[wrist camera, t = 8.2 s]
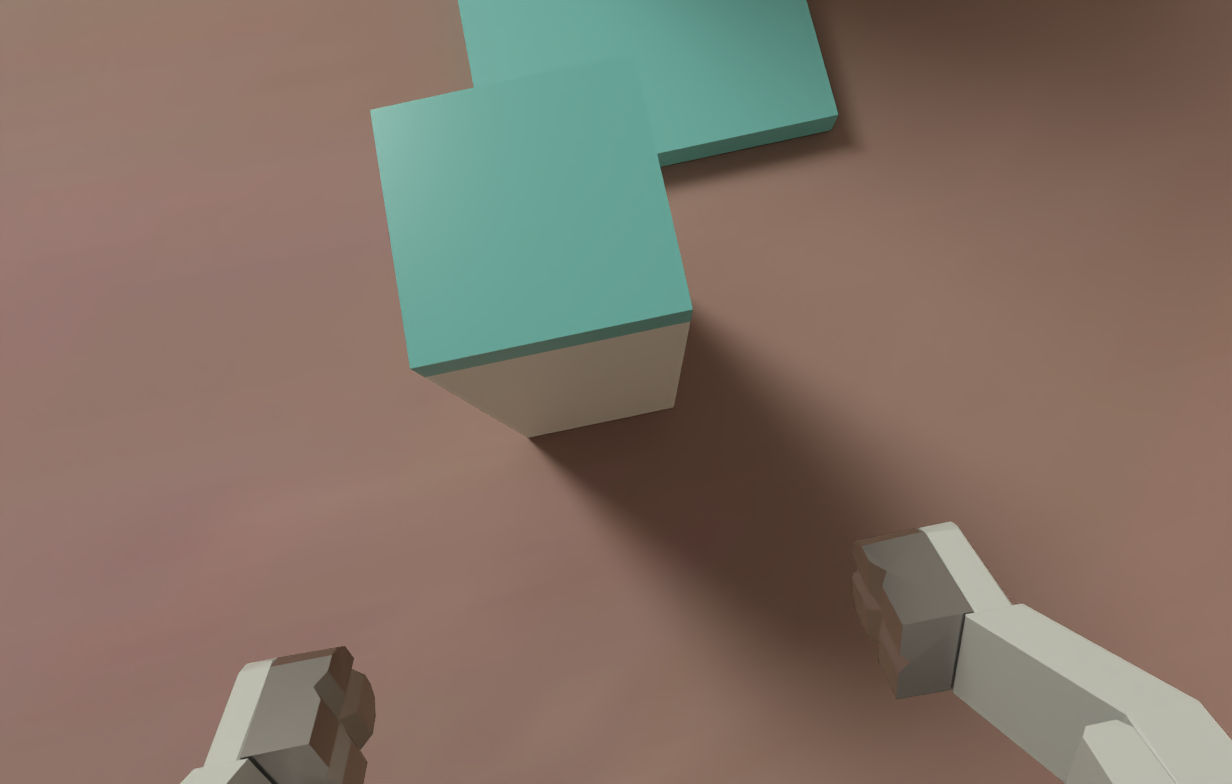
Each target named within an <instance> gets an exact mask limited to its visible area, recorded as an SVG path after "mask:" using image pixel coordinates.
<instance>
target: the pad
mask: <svg viewBox="0 0 1232 784" xmlns="http://www.w3.org/2000/svg"><path fill="white" fill-rule="evenodd" d="M458 4H459V9H460V15H461V20H462V25H463V31H464V36H465V42H466V47H467V53H468V58H469V63H470V69H471V74H472V80H473V85H474V87H479V86H484V85H488V84H493V83H497V82H502V81H507V80H511V79H516V78H520V77H525V76H530V75H534V74H539V73H544V72H548V71H553V70H557V69H562V68H567V67H571V66H576V65H580V64H585V63H590V62H594V61H599V60H604V59H608V58H613V57H617V56H622V55H627V54H631V53H634V55H635V59H636V63H637V68H638V72H639V77H640V81H641V85H642V90H643V94H644V98H645V103H646V107H647V111H648V116H649V120H650V125H651V129H652V133H653V138H654V142H655V146H656V151H657V155H658V160H659V164H660V167H662V166H667V165H671V164H676V163H681V162H685V161H690V160H695V159H699V158H704V157H709V156H713V155H718V154H723V153H727V152H732V151H737V150H741V149H746V148H751V147H755V146H760V145H765V144H769V143H774V142H778V141H783V140H788V139H792V138H797V137H802V136H806V135H811V134H816V133H820V132H825V131H830V130H832V127H833V125H834V123H835V121H836V119H837V117H838V111H837V108H836V104H835V101H834V97H833V94H832V90H831V86H830V83H829V79H828V76H827V72H826V69H825V65H824V61H823V58H822V54H821V51H820V47H819V44H818V40H817V36H816V33H815V29H814V26H813V22H812V19H811V15H810V11H809V8H808V4H807V1H806V0H458Z"/></svg>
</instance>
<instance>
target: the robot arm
mask: <svg viewBox="0 0 1232 784" xmlns="http://www.w3.org/2000/svg"><path fill="white" fill-rule="evenodd" d="M852 558H853V560H854V562H855V565H856V567H857V569H858V570H857V571H856V572H855V573H854V574H853V576H852V593H853V598H854V602H855V607H856V610H857V613H858V616H859V619H860V622H861V624H862V626H863V628H864V631H865V633H866V635H867V636H869V637H870V638H872V639H873V640H875V641H876V642H878V643H879V651H878V661H879V663H880V665H881V668H882V670H883V672H884V674H885V676H886V678H887V680H888V682H889V685H890V687H891V689H892V691H893V693H894V695H895V697H896V699H900V698H906V697H912V696H918V695H924V694H930V693H936V692H942V691H948V690H953V693H954V694H955V695H956V696H958V697H959V698H960V699H961V700H962V701H964V702H965V703H966V704H967V705H969V706H970V707H971V708H972V709H974V710H975V711H976V712H977V713H979V714H980V715H981V716H982V717H984V718H985V719H986V720H987V721H989V722H990V723H991V724H992V725H994V726H995V727H996V728H997V729H998V730H1000V731H1001V732H1002V733H1003V734H1005V735H1006V736H1007V737H1008V738H1010V739H1011V740H1012V741H1013V742H1015V743H1016V744H1017V745H1018V746H1020V747H1021V748H1022V749H1023V750H1025V751H1026V752H1027V753H1028V754H1030V755H1031V756H1032V757H1033V758H1034V759H1036V760H1037V761H1038V762H1039V763H1041V764H1042V765H1043V766H1044V767H1046V768H1047V769H1048V770H1049V771H1051V772H1052V773H1053V774H1054V775H1056V776H1057V777H1058V778H1059V779H1061V780H1062V781H1063V782H1064V784H1232V740H1231V739H1230V738H1229V737H1228V736H1227V734H1226V733H1225V732H1224V731H1223V730H1222V728H1221V727H1220V726H1219V725H1218V724H1217V722H1216V721H1215V720H1214V719H1213V718H1212V716H1211V715H1210V714H1209V713H1208V712H1207V710H1206V709H1205V708H1204V707H1203V706H1202V704H1201V703H1200V702H1199V701H1197V700H1196V699H1194V698H1192V697H1190V696H1188V695H1187V694H1185V693H1183V692H1181V691H1179V690H1178V689H1176V688H1174V687H1172V686H1170V685H1169V684H1167V683H1165V682H1163V681H1161V680H1160V679H1158V678H1156V677H1154V676H1152V675H1151V674H1149V673H1147V672H1145V671H1143V670H1142V669H1140V668H1138V667H1136V666H1134V665H1133V664H1131V663H1129V662H1127V661H1125V660H1124V659H1122V658H1120V657H1118V656H1116V655H1115V654H1113V653H1111V652H1109V651H1107V650H1106V649H1104V648H1102V647H1100V646H1098V645H1097V644H1095V643H1093V642H1091V641H1089V640H1088V639H1086V638H1084V637H1082V636H1080V635H1079V634H1077V633H1075V632H1073V631H1071V630H1070V629H1068V628H1066V627H1064V626H1062V625H1061V624H1059V623H1057V622H1055V621H1053V620H1052V619H1050V618H1048V617H1046V616H1044V615H1043V614H1041V613H1039V612H1037V611H1035V610H1034V609H1032V608H1030V607H1028V606H1026V605H1025V604H1023V603H1022V604H1016V605H1012V603H1011V602H1010V601H1009V599H1008V598H1007V596H1006V595H1005V593H1004V592H1003V590H1002V589H1001V588H1000V586H999V585H998V583H997V582H996V580H995V579H994V578H993V576H992V575H991V573H990V572H989V570H988V569H987V567H986V566H985V565H984V563H983V562H982V560H981V559H980V557H979V556H978V555H977V553H976V552H975V550H974V549H973V547H972V546H971V544H970V543H969V542H968V540H967V539H966V537H965V536H964V534H963V533H962V532H961V530H960V529H959V527H958V526H957V525H956V524H954V523H953V522H946V523H941V524H936V525H931V526H926V527H921V528H918V529H916V528H913V529H908V530H904V531H899V532H894V533H890V534H885V535H881V536H876V537H871V538H867V539H862V540H858V541H855V542H854V544H853V546H852ZM353 660H354V657H353V656H352V655H351V653H350V652H349V651H348V649H347V648H346V647H345V646H342V647H335V648H330V649H324V650H318V651H313V652H307V653H301V654H295V655H290V656H284V657H278V658H273V659H268V660H263V661H258V662H253V663H247V664H246V665H245V666H244V668H243V669H242V670H241V671H240V672H239V674H238V676H237V679H236V681H235V684H234V687H233V689H232V692H231V694H230V697H229V700H228V702H227V705H226V708H225V710H224V713H223V716H222V718H221V721H220V724H219V726H218V729H217V732H216V734H215V737H214V740H213V742H212V745H211V748H210V750H209V753H208V756H207V758H206V761H205V764H204V766H203V767H200V768H196V769H193V770H192V772H191V773H190V774H189V775H188V776H187V777H186V778H185V779H184V780H183V781H182V782H181V783H180V784H363V783H364V778H365V773H366V767H367V760H366V759H365V757H364V755H363V753H362V752H361V748H362V747H363V746H364V745H365V743H366V742H367V741H368V739H369V738H370V737H371V735H372V734H373V729H374V723H375V717H376V713H375V696H374V693H373V690H372V686H371V684H370V682H369V680H368V679H367V677H366V676H365V674H362V673H360V672H358V671H355V670H353V669H352V665H353Z"/></svg>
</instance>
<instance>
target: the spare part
mask: <svg viewBox="0 0 1232 784" xmlns="http://www.w3.org/2000/svg"><path fill="white" fill-rule="evenodd" d="M370 113H371V119H372V126H373V132H374V138H375V145H376V151H377V158H378V164H379V171H380V177H381V184H382V190H383V196H384V203H385V209H386V216H387V222H388V229H389V235H390V241H391V248H392V254H393V261H394V267H395V274H396V280H397V287H398V293H399V299H400V306H401V312H402V319H403V325H404V332H405V338H406V345H407V351H408V357H409V364H410V369H412V370H413V371H415V372H417V373H418V374H420V375H422V376H423V377H425V378H427V379H429V380H430V381H432V382H434V383H435V384H437V385H439V386H440V387H442V388H444V389H446V390H447V391H449V392H451V393H452V394H454V395H456V396H457V397H459V398H461V399H463V400H464V401H466V402H468V403H469V404H471V405H473V406H474V407H476V408H478V409H480V410H481V411H483V412H485V413H486V414H488V415H490V416H491V417H493V418H495V419H497V420H498V421H500V422H502V423H503V424H505V425H507V426H508V427H510V428H512V429H514V430H515V431H517V432H519V433H520V434H522V435H524V436H525V437H527V438H530V437H534V436H539V435H544V434H549V433H554V432H558V431H563V430H568V429H573V428H578V427H582V426H587V425H592V424H597V423H602V422H606V421H611V420H616V419H621V418H626V417H631V416H635V415H640V414H645V413H650V412H655V411H659V410H664V409H669V408H674V404H675V399H676V394H677V388H678V383H679V378H680V373H681V368H682V363H683V357H684V352H685V347H686V342H687V337H688V332H689V327H690V321H691V316H692V311H693V308H692V304H691V299H690V295H689V290H688V286H687V282H686V277H685V273H684V269H683V264H682V260H681V256H680V251H679V247H678V242H677V238H676V234H675V229H674V225H673V221H672V216H671V212H670V208H669V203H668V199H667V194H666V190H665V186H664V181H663V177H662V173H661V168H660V164H659V160H658V155H657V151H656V146H655V142H654V138H653V133H652V129H651V125H650V120H649V116H648V111H647V107H646V103H645V98H644V94H643V90H642V85H641V81H640V77H639V72H638V68H637V63H636V59H635V55H634V53H631V54H627V55H622V56H617V57H613V58H608V59H604V60H599V61H594V62H590V63H585V64H580V65H576V66H571V67H567V68H562V69H557V70H553V71H548V72H544V73H539V74H534V75H530V76H525V77H520V78H516V79H511V80H507V81H502V82H497V83H493V84H488V85H484V86H479V87H474V88H470V89H465V90H460V91H456V92H451V93H447V94H442V95H437V96H433V97H428V98H424V99H419V100H414V101H410V102H405V103H400V104H396V105H391V106H387V107H382V108H377V109H373V110H370Z"/></svg>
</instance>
